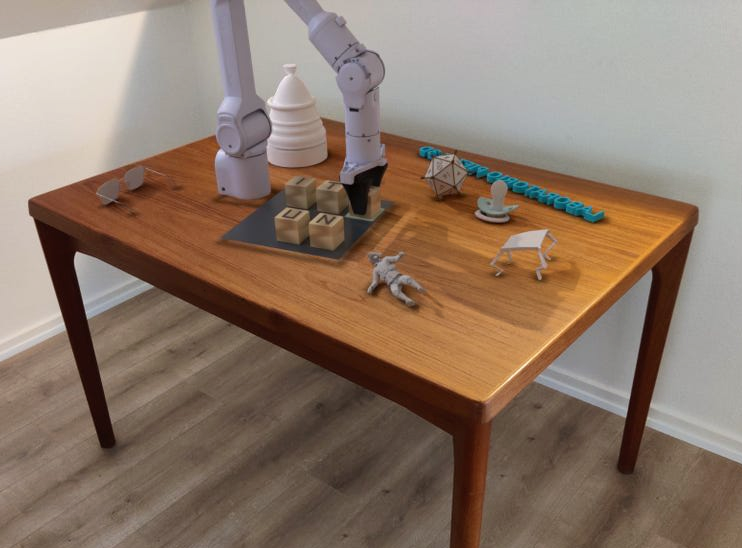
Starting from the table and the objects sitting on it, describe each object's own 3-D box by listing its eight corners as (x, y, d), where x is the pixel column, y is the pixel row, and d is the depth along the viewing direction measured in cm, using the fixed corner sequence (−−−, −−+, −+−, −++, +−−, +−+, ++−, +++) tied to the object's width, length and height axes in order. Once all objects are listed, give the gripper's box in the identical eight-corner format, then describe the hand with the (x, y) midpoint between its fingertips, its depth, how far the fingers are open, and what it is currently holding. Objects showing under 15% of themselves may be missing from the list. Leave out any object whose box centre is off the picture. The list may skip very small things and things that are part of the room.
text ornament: (603, 217, 127) (604, 211, 127) (593, 222, 126) (594, 216, 125) (427, 150, 156) (427, 145, 156) (417, 154, 155) (417, 149, 154)
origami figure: (535, 290, 108) (538, 261, 105) (485, 274, 112) (488, 245, 109) (571, 259, 115) (575, 231, 113) (523, 245, 120) (526, 217, 117)
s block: (349, 215, 128) (348, 192, 126) (359, 206, 131) (358, 183, 129) (371, 219, 127) (371, 195, 124) (380, 209, 130) (380, 186, 127)
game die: (452, 217, 138) (468, 188, 129) (410, 199, 138) (423, 169, 128) (466, 179, 141) (482, 149, 132) (425, 162, 141) (439, 130, 132)
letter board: (220, 243, 123) (215, 214, 120) (288, 190, 141) (285, 163, 138) (338, 265, 116) (337, 235, 113) (394, 206, 134) (394, 179, 130)
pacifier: (504, 228, 125) (520, 215, 129) (507, 194, 122) (523, 181, 125) (467, 218, 129) (484, 206, 133) (468, 185, 125) (485, 173, 129)
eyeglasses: (146, 181, 146) (144, 162, 144) (179, 190, 144) (177, 171, 141) (98, 208, 136) (94, 188, 133) (132, 218, 133) (129, 198, 131)
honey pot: (267, 147, 161) (257, 61, 150) (325, 144, 162) (320, 58, 151) (266, 169, 150) (257, 78, 140) (329, 165, 151) (324, 74, 141)
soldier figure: (392, 319, 104) (343, 267, 109) (406, 327, 108) (358, 276, 114) (429, 279, 103) (377, 228, 108) (442, 288, 107) (391, 238, 112)
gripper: (367, 148, 114) (369, 228, 122) (401, 120, 125) (401, 196, 133) (326, 143, 116) (331, 222, 124) (363, 116, 127) (365, 190, 135)
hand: (364, 208), depth 129 cm, fingers closed on s block, 4 cm apart
